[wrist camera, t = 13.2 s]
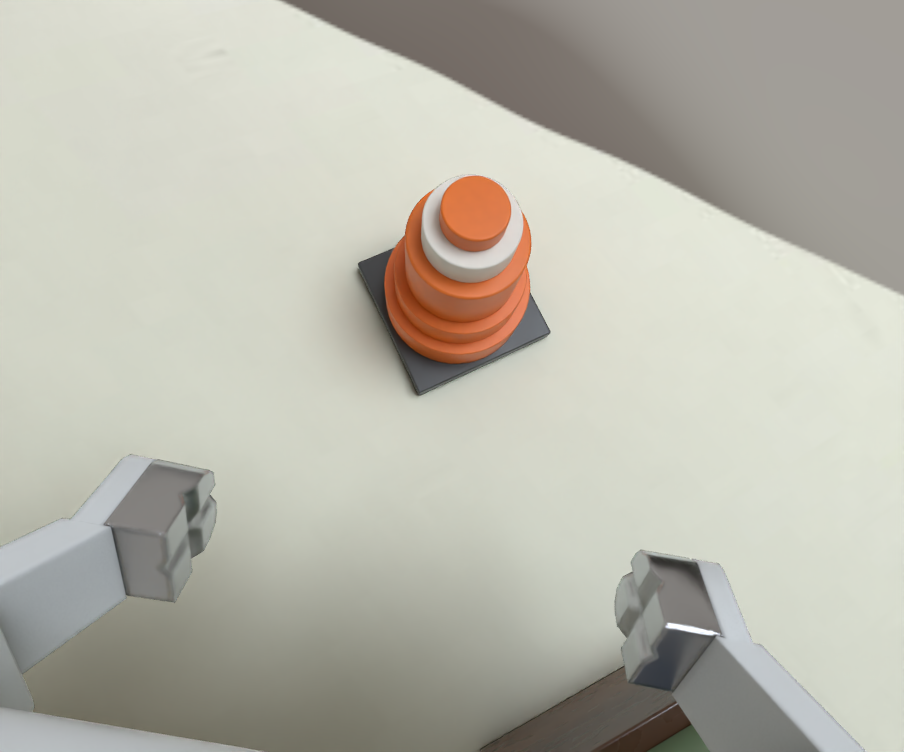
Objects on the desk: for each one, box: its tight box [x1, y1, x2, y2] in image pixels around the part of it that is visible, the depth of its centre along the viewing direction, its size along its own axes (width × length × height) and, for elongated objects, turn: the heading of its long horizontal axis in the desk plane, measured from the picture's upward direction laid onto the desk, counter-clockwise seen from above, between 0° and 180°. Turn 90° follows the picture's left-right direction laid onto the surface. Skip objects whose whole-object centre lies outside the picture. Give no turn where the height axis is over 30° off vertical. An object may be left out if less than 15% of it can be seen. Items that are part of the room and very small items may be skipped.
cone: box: [358, 175, 550, 395], centre depth 20 cm, size 6×6×8 cm
